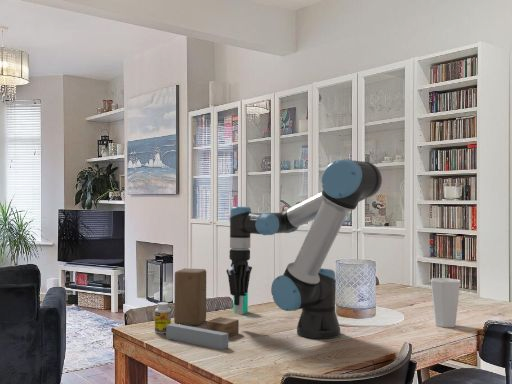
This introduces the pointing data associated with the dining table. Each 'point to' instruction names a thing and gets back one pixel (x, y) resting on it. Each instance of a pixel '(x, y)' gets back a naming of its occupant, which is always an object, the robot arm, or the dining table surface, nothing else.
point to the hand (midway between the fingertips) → (238, 313)
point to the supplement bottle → (162, 317)
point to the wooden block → (190, 296)
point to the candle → (245, 304)
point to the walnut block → (224, 325)
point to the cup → (445, 300)
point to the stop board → (197, 336)
